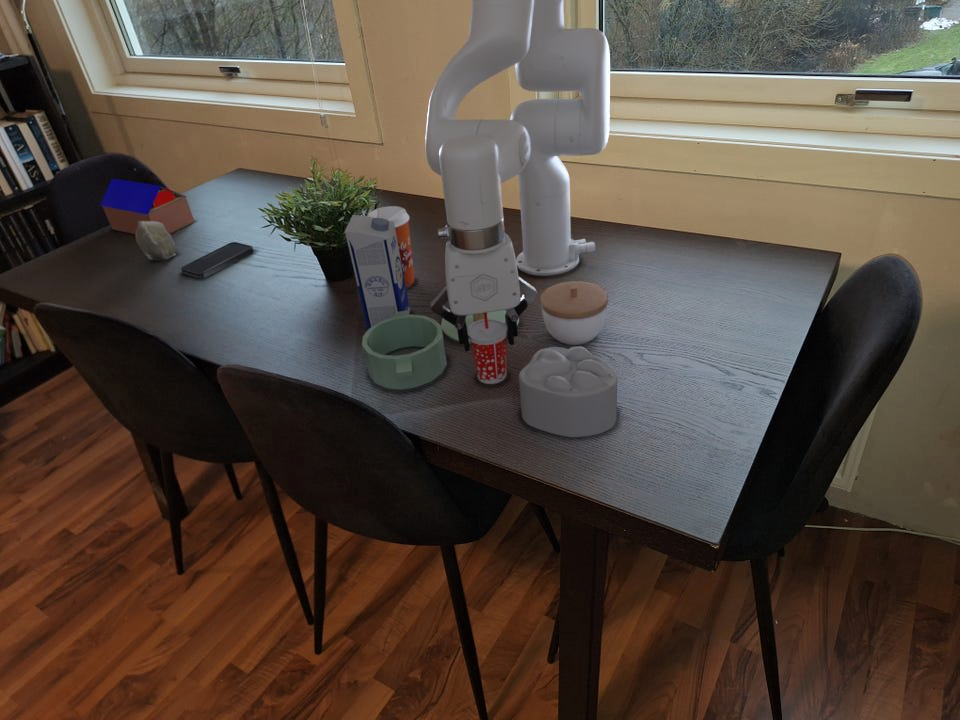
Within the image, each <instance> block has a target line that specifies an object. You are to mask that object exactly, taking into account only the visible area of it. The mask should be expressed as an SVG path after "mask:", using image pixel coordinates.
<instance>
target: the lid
mask: <svg viewBox="0 0 960 720" xmlns="http://www.w3.org/2000/svg"><path fill="white" fill-rule="evenodd" d="M505 314H506V310H501V311H494V312H487V318H489V319H498V320H501V321H503V322H504V323H506V322H505ZM481 319H484V313H480V314H473V315H467V316H466V319H465V320H466V326H467V328H468V327H469V325H471V324H472V323H473V322H476V321H478V320H481ZM519 323H520V318H519V319H518V320H517V327H518V326H519ZM440 325H441V327H442V334H443V335H445V336H446V337H447V338H448V339H450V340H452V341H454V342H457V343H459V339H458V331H457V329H456V328H455V326H454V325H452V324H451V323H449V322H448V321H446V320H445V319H444V318H443V317H442V319H441V321H440ZM468 340H469V339H468ZM469 345H471V342H470V340H469Z"/></svg>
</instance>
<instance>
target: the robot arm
mask: <svg viewBox="0 0 960 720" xmlns="http://www.w3.org/2000/svg"><path fill="white" fill-rule="evenodd" d="M564 7H565V6H564V0H472V1H471V11H470V19H469V29H468V37H467V41H466V42H465V43H464V45H462V46H461V48H460V49H459V50H458V51H457V52H456V53H455V54H454V55H453V56H452V58H451V59H450V60H449V61H448V62H447V64H446V65H445V67H444V68H443V69H442V72H441V73H440V75H439V77H438V78H437V80H436V82H435V84H434V86H433V88H432V91H431V94H430V97H429V102H428V109H427V110H428V111H427V117H426V125H425V126H426V127H425V140H424V141H425V143H424V149H425V157H426V161H427V164H428V166H429V168H430V169H431V170H432V172H433V173H435V174H437V175H439V176H441V184H442V191H443V199H444V207H445V214H446V222H447V224H445V226H443V227H442V228H437V235H438V239H439V240H440V239H441V240H442V239H444V240H447V242H446V243H445V249H444V250H445V252H444V272H445V286H444V287H443V288H442V289H441V291H440V292H439V293H438V294H437V295H436V296H435V298H434V299H433V300H432V301H431V303H430V310H431V311H432V312H433V313H435V314H436V315H437V316H439V317H442V319H443V318H444V319H445V320H446V321H448V322H449V323H451V324H452V325H454V326H455V328H456V329H457V331H458V339H459V342H458V344H459V345H463V346H464V347H463V348H464V352H469V351H471V350H470V348H471V347H470V344H469V340H468V332H467V326H466V320H465V319H466V316H467V315H473V314H480V313H487V312H494V311H501V310H506V314H505V322H506V325H507V328H508V331H507V332H508V334H507V336H506V339H507V341H508V344H509V345H510V346H514V345H515V337H518V336H519V335H518V326H517V320H518V319H519V320H520V316H521V315H522V314H523V312H525V311H526V310H527V308H528V306H529V305H530V304H531V303H532V302H533V301H534V300H535V299H536V298H537V297H538V291H537V289H536V288H535V286H533V285H531V284H530V283H529V282H527V281H526V280H524V279H523V278H522V277H520V276H519V270H520V271H521V272H524V273H526V274H528V275H533V276H542V277H546V276H547V277H548V276H549V277H550V276H556V275H561V274H565V273H567V272H569V271H571V270H573V269H575V268H576V267H577V266H578V264H579V263H580V254H582V253H591V252H595V251H596V243H595V241H589V242H587V241H586V238H580V239H577V240H574V238H572V232H571V231H572V229H571V226H572V225H571V224H572V223H571V187H570V186H571V180H570V175H569V172H568V169H567V167H566V166H565V164H564V163H563V161H562V160H561V159H560V157H562V156H564V157H565V156H566V157H567V156H568V157H569V156H573V157H574V156H575V157H576V156H577V157H578V156H579V157H581V156H582V157H583V156H595V155H599V154H601V153H602V152H603V151H604V150H605V149H606V147H607V145H608V142H609V136H610V123H611V122H610V120H611V119H610V118H611V117H610V116H611V114H610V112H611V110H610V109H611V107H610V106H611V53H610V45H609V41H608V39H607V36H606V34H604V32H603V31H601V30H600V29H597V28H594V27H580V28H579V27H578V28H567V27H566V26H565V11H564V10H565V9H564ZM513 66H514V69H515V70H514V71H515V76H516V81H517V83H518V85H519V86H520V88H521V89H523V90H524V91H527V92H537V93H544V92H545V93H550V92H554V93H555V92H558V93H559V92H577V93H579V95H580V97H579V98H578V97H576V98H575V97H574V98H560V97H559V98H535V99H534V98H533V99H529V100H525V101H522V102H521V103H519V104H517V105H516V106H515V107H514V109H513V110H512V112H511V114H510V118H509V119H456V115H457V112H458V108H459V107H460V105H461V103H462V101H463V100H464V99H465V98H466V96H467V95H468V94H469V93H470V92H472V90H474V88H476V87H477V86H479V85H480V84H482V83H483V82H486V81H487V80H489V79H490V78H492V77H494V76H497V75H498V74H499V73H502V72H503V71H505V70H507V69H509V68H511V67H513ZM516 176H517V179H518V193H519V207H520V223H521V238H522V251H521V252H520V253H519V254H517V256H516V253H515V248H514V245H513V241H512V239H511V237H510V235H508V233H506V231H505V217H504V207H503V195H502V184H503V183H505V182H507V181H509V180H510V179H513V178H515V177H516ZM518 269H519V270H518ZM521 293H523V294H522V296H521ZM447 302H448V306H449V307H446V305H445V304H446V303H447Z"/></svg>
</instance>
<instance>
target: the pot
mask: <svg viewBox="0 0 960 720" xmlns="http://www.w3.org/2000/svg"><path fill="white" fill-rule="evenodd" d="M444 341H445V340H444V333H443V331H442V327H441V323H439V322H438V321H436V320H435V319H434V318H432V317H429V316H427V315H421V314H411V312H410V313H409V310H407V311H400V312H395V317H392V318H389V319H386V320H383V321H381V322H379V323H377V324H376V325H374V326H373V327H371V328H369V329H367V331H366V332H365V333H364V335H363V336H362V341H361V347H362V351H363V356H364V360H365V364H366V368H367V372H368V376H369V377H370V378H371V379H370V380H372V381H373V383H374V384H376V385H378V386H381V387H383V388H385V389H393V390H406V389H407V390H408V389H412V388H414V389H415V388H419V387H421V386H423V385H427V384H428V383H430V382H432V381H434V380H435V379H436V378H438V377H439V376H440V375H442V374H443V372H444V370H445V368H446V366H447V365H448V361H447V354H446V348H445V342H444ZM411 347H420V348H421V347H422V349H419V350H416V351H413V352H410V353H406V354H398V355H390V354H389V353H391V352H393V351H396V350H399V349H404V348H411ZM387 354H388V355H387Z"/></svg>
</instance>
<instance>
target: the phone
mask: <svg viewBox="0 0 960 720" xmlns="http://www.w3.org/2000/svg"><path fill="white" fill-rule="evenodd" d="M253 253H254V248H253V246H252V245H249V244H245V243H241V242H236V241H231V242H229V243H226V244H225V245H223V246H221V247H219V248H217V249H214V250H213V251H210V252H208V253H206V254H205V255H203V256H201V257H199V258H197V259H195V260H192V261H191V262H188V263H187V264H184V265H182V266H181V267H180V270H181V272H182V274H183V275H186V276H190V277H192V278H196V279H205V278H208V277H209V276H211V275H214V274H215V273H217V272H219V271H221V270H223V269H225V268H227V267H229V266H231V265H232V264H234V263H236V262H238V261H240V260H242V259H244V258H246V257H248V256H249V255H251V254H253Z"/></svg>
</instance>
